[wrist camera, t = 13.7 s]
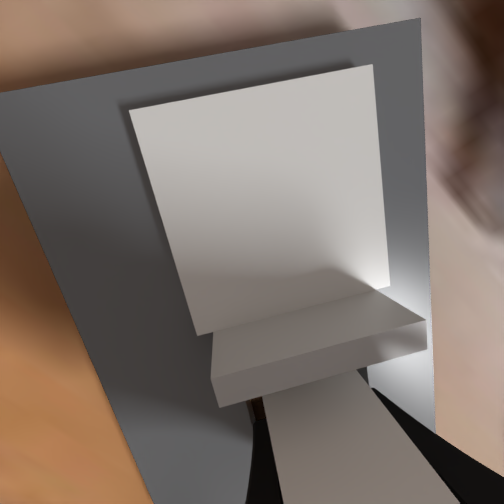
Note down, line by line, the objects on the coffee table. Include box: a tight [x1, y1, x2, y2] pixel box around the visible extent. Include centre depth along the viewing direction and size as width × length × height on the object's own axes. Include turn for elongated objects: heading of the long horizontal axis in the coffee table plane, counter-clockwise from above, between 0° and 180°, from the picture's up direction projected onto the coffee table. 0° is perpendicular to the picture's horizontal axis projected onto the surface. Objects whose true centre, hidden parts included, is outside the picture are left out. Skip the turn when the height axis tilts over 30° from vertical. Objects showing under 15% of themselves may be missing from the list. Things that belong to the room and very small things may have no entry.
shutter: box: [129, 64, 428, 408], centre depth 7 cm, size 8×9×3 cm
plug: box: [262, 370, 460, 504], centre depth 9 cm, size 4×4×7 cm
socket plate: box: [0, 18, 436, 504], centre depth 11 cm, size 14×22×2 cm, turn 12°
